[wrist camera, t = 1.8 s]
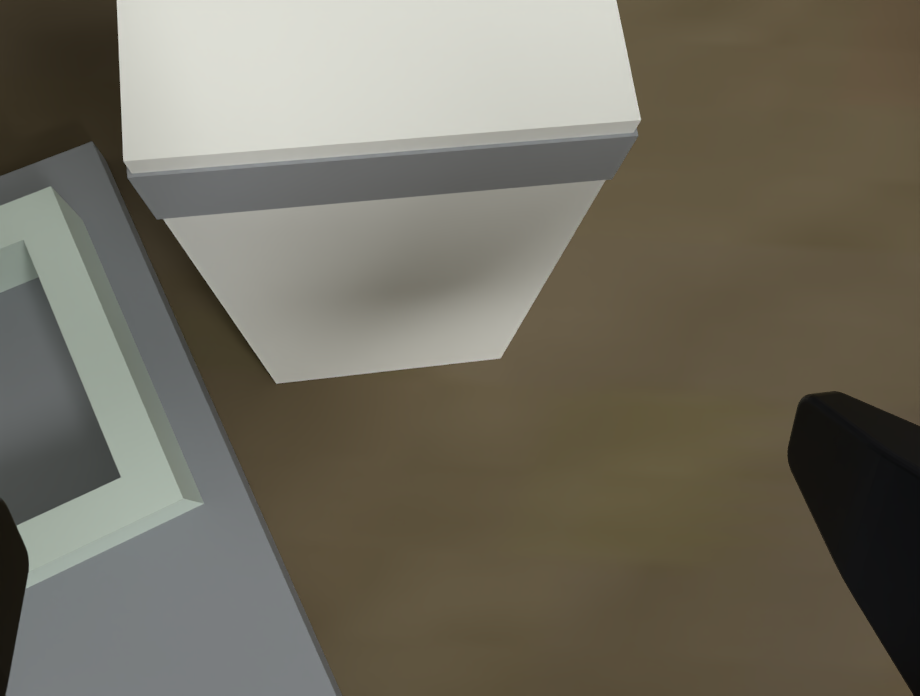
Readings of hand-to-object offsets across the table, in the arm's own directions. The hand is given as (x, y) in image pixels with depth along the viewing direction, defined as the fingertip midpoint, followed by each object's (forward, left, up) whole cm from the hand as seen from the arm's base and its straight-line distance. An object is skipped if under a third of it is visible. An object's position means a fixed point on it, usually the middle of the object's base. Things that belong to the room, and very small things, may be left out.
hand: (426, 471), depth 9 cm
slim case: (+4, +4, -12) cm, 13 cm away
